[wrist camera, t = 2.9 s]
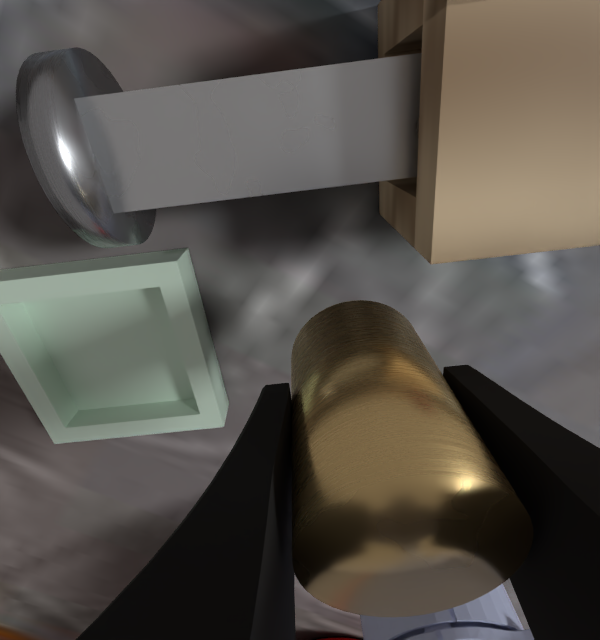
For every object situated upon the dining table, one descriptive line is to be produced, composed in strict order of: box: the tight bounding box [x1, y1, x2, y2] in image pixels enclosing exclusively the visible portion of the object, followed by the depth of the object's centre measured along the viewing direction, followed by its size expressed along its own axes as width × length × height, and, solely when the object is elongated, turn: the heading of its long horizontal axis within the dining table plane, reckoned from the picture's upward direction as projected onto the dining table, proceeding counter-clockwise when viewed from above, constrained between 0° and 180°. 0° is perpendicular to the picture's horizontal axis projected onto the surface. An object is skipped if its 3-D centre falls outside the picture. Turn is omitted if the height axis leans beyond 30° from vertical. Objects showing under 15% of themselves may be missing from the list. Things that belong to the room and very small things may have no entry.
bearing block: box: [378, 0, 600, 264], centre depth 11 cm, size 7×8×6 cm
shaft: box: [16, 48, 422, 248], centre depth 11 cm, size 6×14×6 cm, turn 96°
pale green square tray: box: [0, 248, 229, 444], centre depth 18 cm, size 9×9×2 cm
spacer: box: [291, 300, 533, 617], centre depth 9 cm, size 4×4×6 cm
